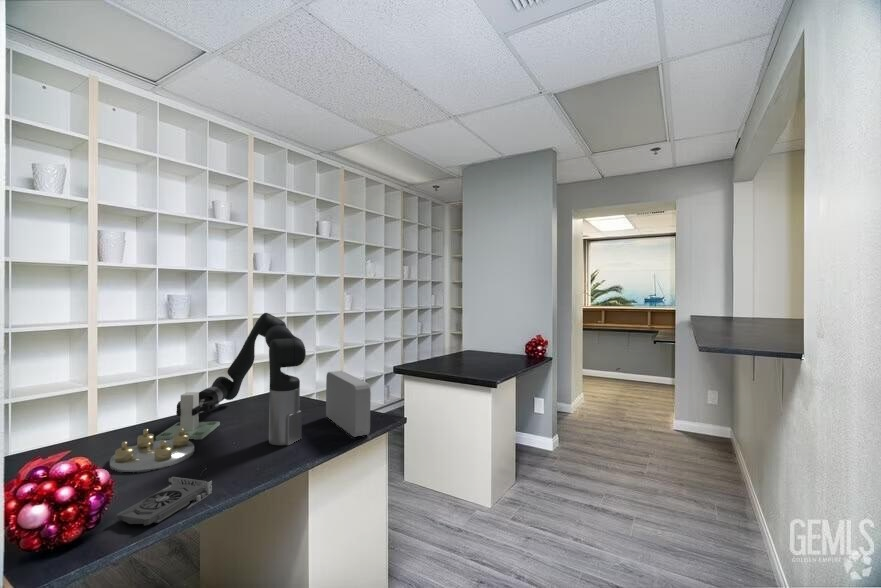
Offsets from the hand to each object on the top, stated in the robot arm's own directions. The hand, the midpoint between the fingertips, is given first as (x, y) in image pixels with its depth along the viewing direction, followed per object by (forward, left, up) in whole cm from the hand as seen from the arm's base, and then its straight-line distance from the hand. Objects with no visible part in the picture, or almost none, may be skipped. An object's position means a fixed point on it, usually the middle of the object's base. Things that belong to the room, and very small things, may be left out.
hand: (185, 412), depth 136 cm
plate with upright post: (+1, -2, -8) cm, 8 cm away
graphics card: (-37, +32, -8) cm, 50 cm away
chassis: (-9, +16, -8) cm, 19 cm away
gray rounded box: (-43, -30, -8) cm, 53 cm away
